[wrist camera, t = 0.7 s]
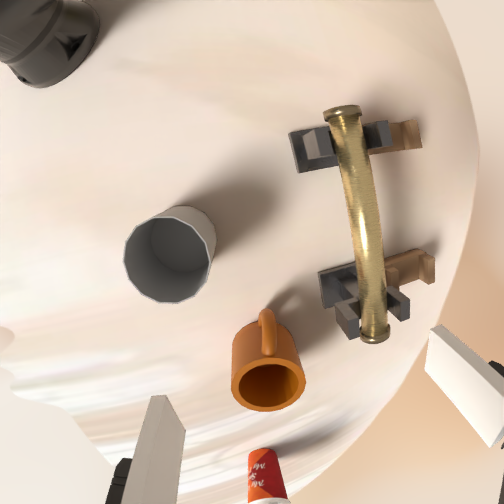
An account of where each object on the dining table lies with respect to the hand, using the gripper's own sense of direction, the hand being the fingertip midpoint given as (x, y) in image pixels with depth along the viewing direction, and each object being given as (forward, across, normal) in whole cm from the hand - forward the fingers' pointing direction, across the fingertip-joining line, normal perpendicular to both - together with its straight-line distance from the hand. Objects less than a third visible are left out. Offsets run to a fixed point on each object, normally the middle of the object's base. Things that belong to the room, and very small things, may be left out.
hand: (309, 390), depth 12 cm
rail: (+17, +10, +2) cm, 20 cm away
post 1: (+25, +10, +11) cm, 29 cm away
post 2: (+25, +10, -7) cm, 28 cm away
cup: (+25, -9, +4) cm, 27 cm away
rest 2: (+25, +19, -6) cm, 32 cm away
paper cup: (+25, -8, -41) cm, 49 cm away
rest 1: (+25, +18, +12) cm, 33 cm away
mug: (+25, -2, -12) cm, 28 cm away
